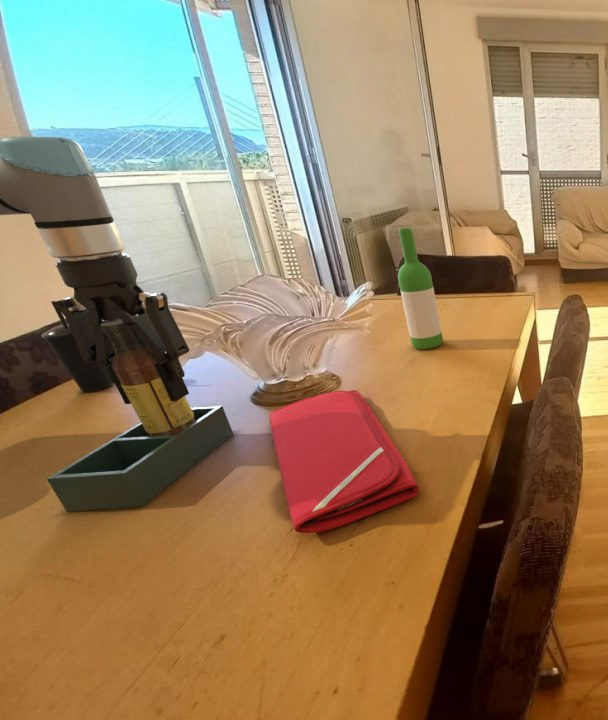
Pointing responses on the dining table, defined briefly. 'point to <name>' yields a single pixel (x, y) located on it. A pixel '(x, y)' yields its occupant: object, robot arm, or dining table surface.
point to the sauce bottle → (145, 382)
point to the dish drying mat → (337, 461)
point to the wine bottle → (418, 297)
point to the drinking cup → (75, 358)
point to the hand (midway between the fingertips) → (157, 398)
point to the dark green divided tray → (138, 464)
